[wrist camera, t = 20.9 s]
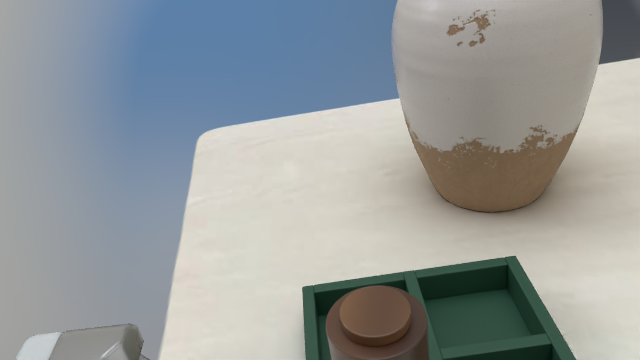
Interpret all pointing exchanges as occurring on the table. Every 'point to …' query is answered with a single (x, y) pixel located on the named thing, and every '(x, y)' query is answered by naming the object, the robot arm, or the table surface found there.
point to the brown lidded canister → (378, 326)
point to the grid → (457, 312)
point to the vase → (494, 91)
